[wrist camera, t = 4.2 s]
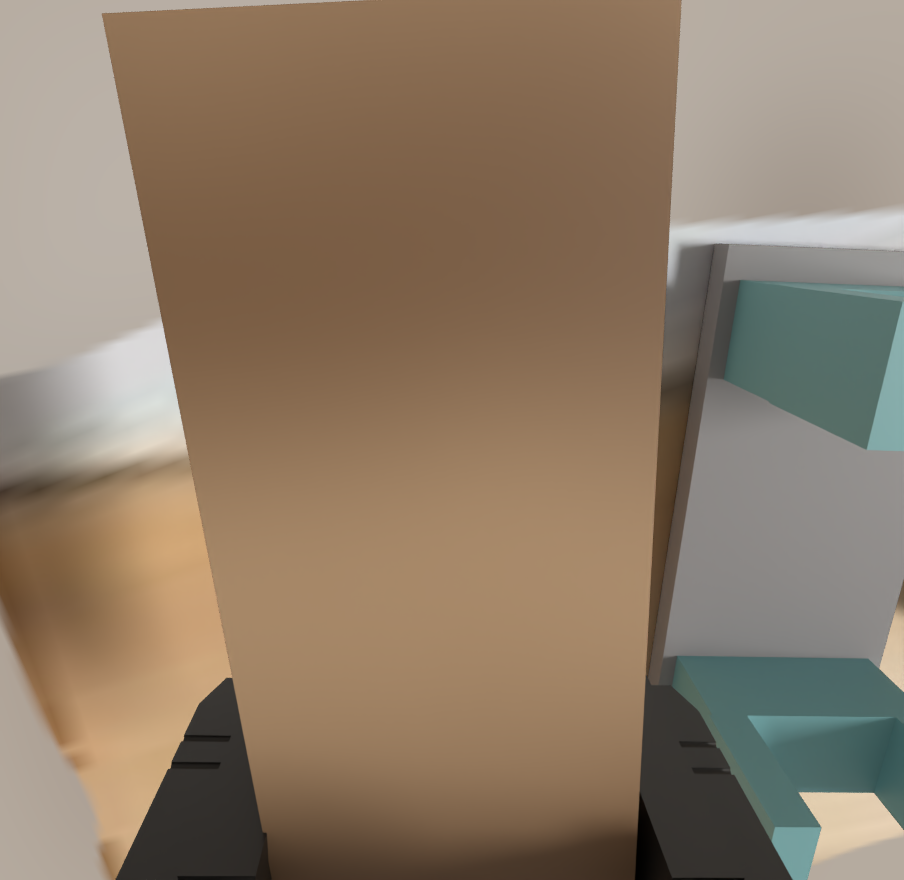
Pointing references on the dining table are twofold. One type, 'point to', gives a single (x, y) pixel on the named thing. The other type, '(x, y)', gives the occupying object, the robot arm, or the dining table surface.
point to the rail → (420, 407)
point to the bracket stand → (793, 531)
